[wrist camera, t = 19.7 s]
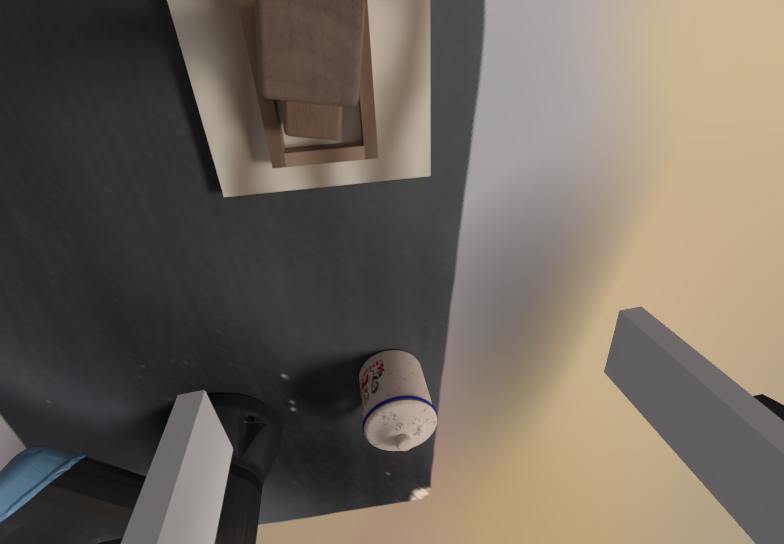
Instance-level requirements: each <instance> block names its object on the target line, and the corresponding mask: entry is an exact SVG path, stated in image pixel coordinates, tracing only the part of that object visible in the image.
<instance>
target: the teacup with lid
mask: <svg viewBox="0 0 784 544" xmlns="http://www.w3.org/2000/svg"><path fill="white" fill-rule="evenodd" d="M359 382H360V391H361V400H362V409H363V418H364V421H363V432H364V435H365V437H366V438H367V440H368V441H369V442H370V443H371V444H372V445H373V446H375V447H377V448H379V449H382V450H387V451H407V450H409V449H411V448H413V447H415V446H417V445H419V444H421V443H423V442H424V441H425V440H427V439H428V438H429V437H430V436H431V434H432V433H433V432H434V430H435V427H436V424H437V412H436V409H435V407H434V406H433V405H432V402H431V399H430V396H429V392H428V389H427V386H426V382H425V379H424V376H423V372H422V369H421V366H420V363H419V361H418V360H417V359H416V358H415V357H414V356H413V355H411V354H410V353H407V352H405V351H400V350H388V351H384V352H380V353H378V354H376V355H374V356H372V357H371V358H369V359H368V360H367V361H366V362H365V363H364V365H363V366H362V368H361V370H360V373H359Z"/></svg>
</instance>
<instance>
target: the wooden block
mask: <svg viewBox="0 0 784 544" xmlns="http://www.w3.org/2000/svg"><path fill="white" fill-rule="evenodd" d="M365 7H366V5H365V1H364V0H255V22H256V44H257V66H258V88H259V91H260V93H261V95H262V96H263V97H265V98H267V99H272V100H282V101H283V124H284V132H285V134H286V135H288V136H292V137H303V138H314V139H326V140H339V139H340V137H341V126H342V110H343V107H349V108H350V107H353V106H356V104H357V102H358V100H359V91H360V77H361V63H362V49H363V35H364V21H365Z"/></svg>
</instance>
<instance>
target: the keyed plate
mask: <svg viewBox="0 0 784 544" xmlns="http://www.w3.org/2000/svg"><path fill="white" fill-rule="evenodd" d="M364 1H365V5H366V7H365V21H364V35H363V49H362V63H361V77H360V91H359V100H358V102H357V104H356V106H353V107H350V108H349V107H343V110H342V126H341V137H340V139H339V140H326V139H314V138H303V137H292V136H288V135H286V134H285V132H284V124H283V101H282V100H272V99H267V98H265V97H263V96H262V95H261V93H260V91H259V88H258V66H257V44H256V22H255V0H167V2H168V6H169V9H170V13H171V16H172V20H173V23H174V26H175V30H176V33H177V37H178V40H179V44H180V47H181V51H182V54H183V58H184V61H185V64H186V68H187V71H188V75H189V78H190V82H191V85H192V89H193V92H194V95H195V99H196V102H197V106H198V109H199V113H200V116H201V120H202V123H203V127H204V130H205V133H206V137H207V140H208V144H209V147H210V151H211V154H212V158H213V161H214V164H215V168H216V171H217V175H218V178H219V182H220V185H221V189H222V192H223V196H224V197H231V196H240V195H250V194H260V193H270V192H279V191H289V190H299V189H309V188H318V187H328V186H338V185H348V184H357V183H367V182H377V181H387V180H397V179H406V178H416V177H426V176H431V166H430V0H364Z"/></svg>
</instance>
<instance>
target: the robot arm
mask: <svg viewBox="0 0 784 544" xmlns="http://www.w3.org/2000/svg"><path fill="white" fill-rule="evenodd" d="M604 372H605V373H606V375H607V376H608V377H609V378H610V379H611V380H612V381H613V383H614V384H615V385H616V386H617V387H618V388H619V389H620V390H621V391H622V393H623V394H624V395H625V396H626V397H627V398H628V399H629V401H630V402H631V403H632V404H633V405H634V406H635V407H636V408H637V410H638V411H639V412H640V413H641V414H642V415H643V416H644V418H645V419H646V420H647V421H648V422H649V423H650V424H651V425H652V427H653V428H654V429H655V430H656V431H657V432H658V433H659V435H660V436H661V437H662V438H663V439H664V440H665V441H666V442H667V444H668V445H669V446H670V447H671V448H672V449H673V450H674V452H675V453H677V455H678V456H679V457H680V458H681V459H682V461H683V462H684V463H685V464H686V465H687V466H688V467H689V468H690V470H691V471H692V472H693V473H694V474H695V475H696V476H697V478H698V479H699V480H700V481H701V482H702V483H703V484H704V485H705V487H706V488H707V489H708V490H709V491H710V492H711V493H712V494H713V496H714V497H715V498H716V499H717V500H718V501H719V502H720V504H721V505H722V506H723V507H724V508H725V509H726V510H727V512H728V513H729V514H730V515H731V516H732V517H733V518H734V519H735V521H736V522H737V523H738V524H739V525H740V526H741V527H742V529H743V530H744V531H745V532H746V533H747V534H748V535H749V536H750V538H751V539H752V540H753V541H754V542H755V543H756V544H784V405H782V404H780V403H778V402H776V401H775V400H773V399H771V398H769V397H767V396H765V395H763V394H761V395H756V396H752V395H751V394H749V393H748V392H747V391H746V390H744V389H743V388H742V387H741V386H739V385H738V384H737V383H736V382H734V381H733V380H732V379H731V378H729V377H728V376H727V375H726V374H725V373H723V372H722V371H721V370H719V369H718V368H717V367H716V366H715V365H713V364H712V363H711V362H709V361H708V360H707V359H706V358H705V357H703V356H702V355H701V354H700V353H698V352H697V351H696V350H695V349H693V348H692V347H691V346H690V345H688V344H687V343H686V342H685V341H683V340H682V339H681V338H680V337H679V336H677V335H676V334H675V333H674V332H672V331H671V330H670V329H668V328H667V327H666V326H665V325H664V324H662V323H661V322H660V321H659V320H657V319H656V318H655V317H654V316H652V315H651V314H650V313H649V312H647V311H646V310H645V309H644V308H642V307H636V308H631V309H626V310H621V311H620V312H619V315H618V319H617V323H616V327H615V331H614V335H613V339H612V343H611V347H610V351H609V355H608V359H607V363H606V367H605V370H604ZM281 438H282V423H281V420H280V418H279V417H278V415H277V414H276V412H275V411H274V410H273V409H272V408H270V407H269V406H268V405H266V404H265V403H263V402H261V401H259V400H257V399H254V398H251V397H248V396H244V395H239V394H230V393H219V394H210V395H207V393H206V391H205V390H202V391H197V392H192V393H187V394H181V395H178V396H177V399H176V401H175V404H174V406H173V409H172V412H171V414H170V417H169V419H168V422H167V425H166V427H165V430H164V432H163V435H162V438H161V440H160V443H159V445H158V448H157V451H156V453H155V456H154V458H153V461H152V464H151V466H150V469H149V471H148V474H147V477H146V476H143V475H140V474H136V473H133V472H131V471H128V470H125V469H122V468H119V467H116V466H113V465H110V464H107V463H104V462H101V461H98V460H95V459H92V458H89V457H86V454H83V453H80V454H74V453H70V452H66V451H63V450H59V449H55V448H52V447H47V446H36V447H32V448H29V449H26V450H24V451H22V452H21V453H19V454H17V455H16V456H15V457H14V458H13V459H12V460H11V461H10V462H9V463H8V464H7V465H6V466H5V467H4V468H3V469H2V470H1V471H0V544H256V536H257V528H258V520H259V512H260V503H261V494H262V488H263V484H264V482H265V480H266V477H267V475H268V473H269V471H270V469H271V467H272V465H273V463H274V461H275V458H276V456H277V454H278V452H279V449H280V446H281Z"/></svg>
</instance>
